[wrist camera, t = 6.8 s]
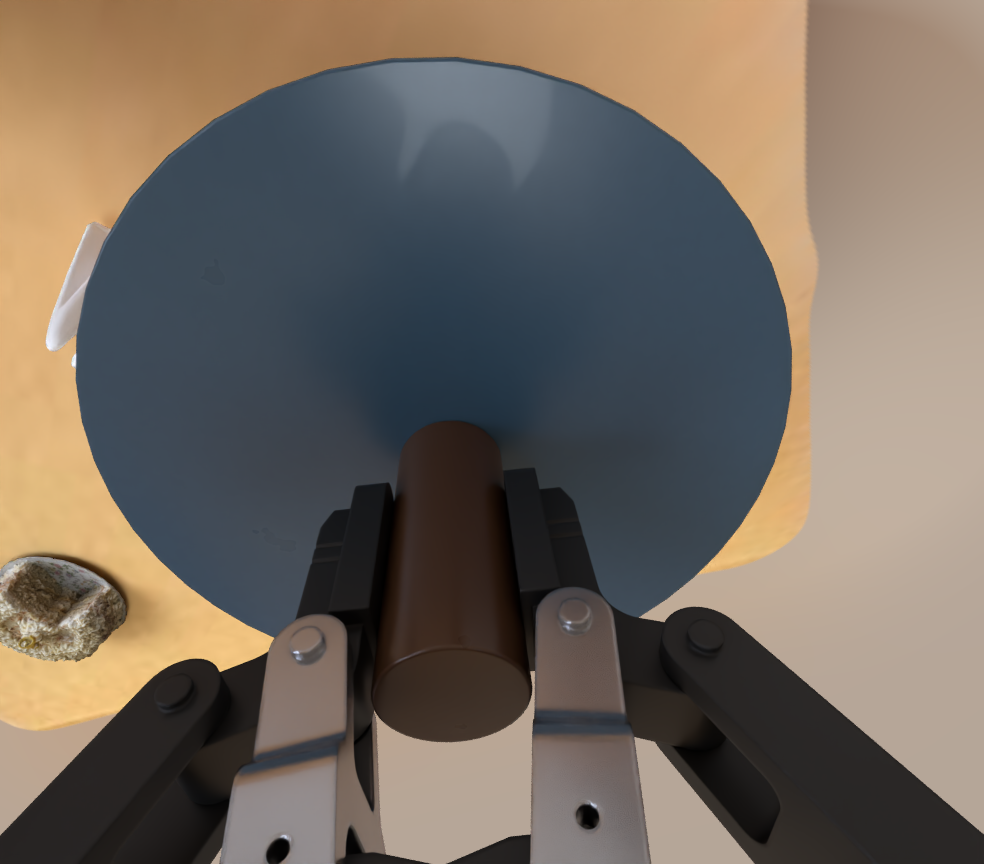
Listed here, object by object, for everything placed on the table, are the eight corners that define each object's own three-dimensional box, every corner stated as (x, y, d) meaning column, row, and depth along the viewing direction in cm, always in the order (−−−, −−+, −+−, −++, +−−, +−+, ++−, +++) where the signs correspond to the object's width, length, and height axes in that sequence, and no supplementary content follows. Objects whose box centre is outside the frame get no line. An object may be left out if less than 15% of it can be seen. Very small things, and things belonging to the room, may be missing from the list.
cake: (131, 637, 52) (99, 695, 47) (7, 616, 50) (-38, 674, 45) (130, 569, 46) (93, 627, 42) (-10, 541, 44) (-63, 599, 40)
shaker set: (99, 216, 32) (-45, 277, 23) (170, 201, 32) (52, 255, 23) (198, 398, 39) (117, 502, 29) (257, 386, 38) (194, 488, 29)
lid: (236, 665, 20) (136, 947, 14) (-62, 102, 11) (-821, 158, 4) (720, 613, 20) (847, 867, 14) (845, 15, 11) (1415, -56, 5)
